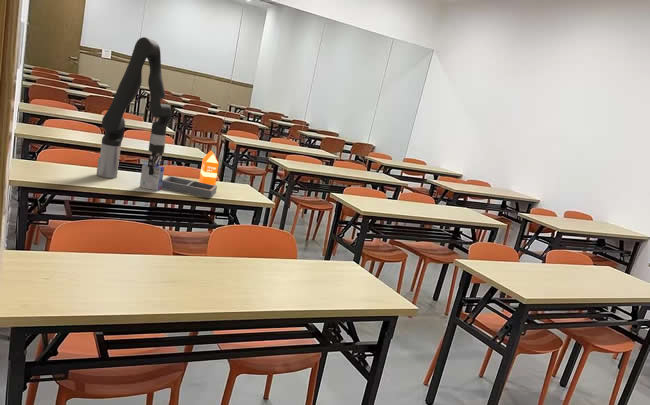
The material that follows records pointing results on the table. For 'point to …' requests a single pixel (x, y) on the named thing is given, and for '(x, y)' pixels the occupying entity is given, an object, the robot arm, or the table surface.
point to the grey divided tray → (189, 186)
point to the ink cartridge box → (152, 177)
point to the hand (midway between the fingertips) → (153, 173)
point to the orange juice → (209, 169)
